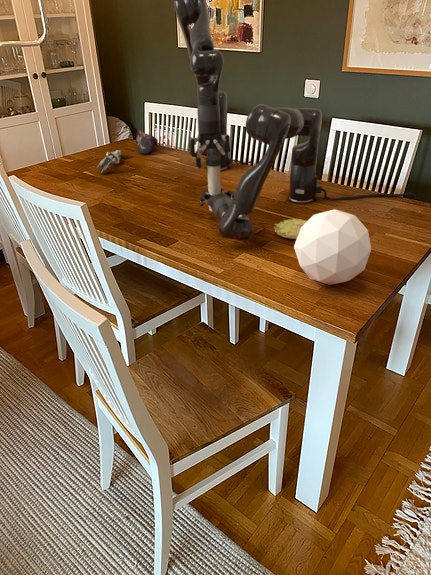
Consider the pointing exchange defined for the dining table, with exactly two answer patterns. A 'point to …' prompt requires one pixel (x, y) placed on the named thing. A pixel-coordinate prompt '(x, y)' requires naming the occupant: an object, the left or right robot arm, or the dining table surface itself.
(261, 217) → the dining table surface
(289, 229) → the decorative object
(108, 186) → the dining table surface
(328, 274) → the sphere
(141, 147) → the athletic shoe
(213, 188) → the bottle
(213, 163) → the lid
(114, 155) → the figurine
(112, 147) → the dining table surface
